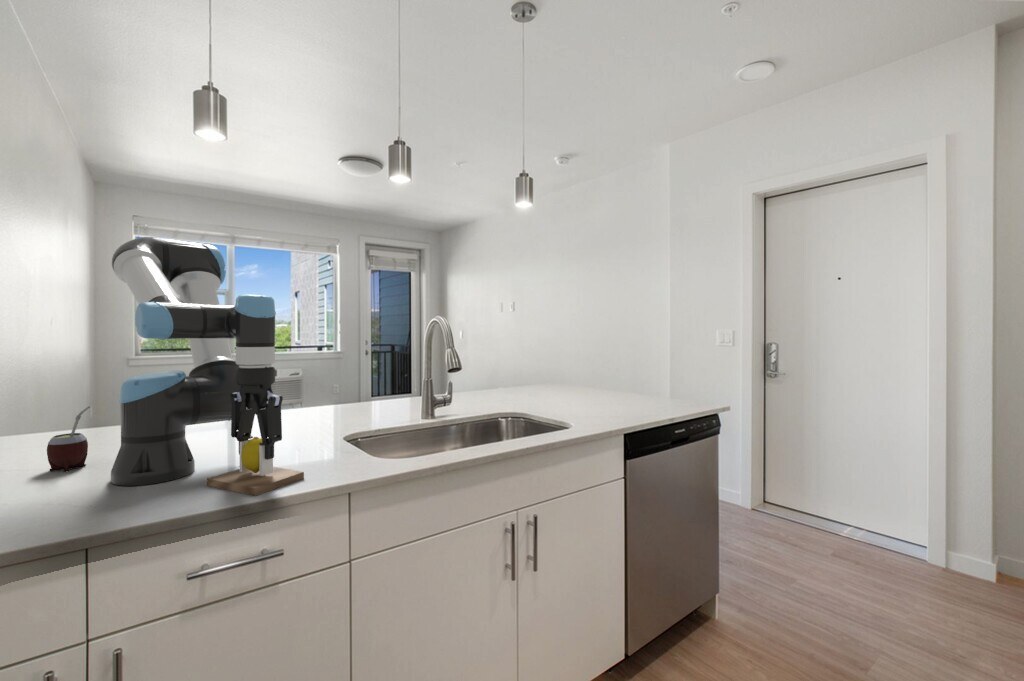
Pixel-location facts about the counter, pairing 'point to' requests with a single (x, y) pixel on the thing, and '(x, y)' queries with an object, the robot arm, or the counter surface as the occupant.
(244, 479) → the walnut board
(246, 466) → the lemon
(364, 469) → the counter surface
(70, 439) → the mate gourd
